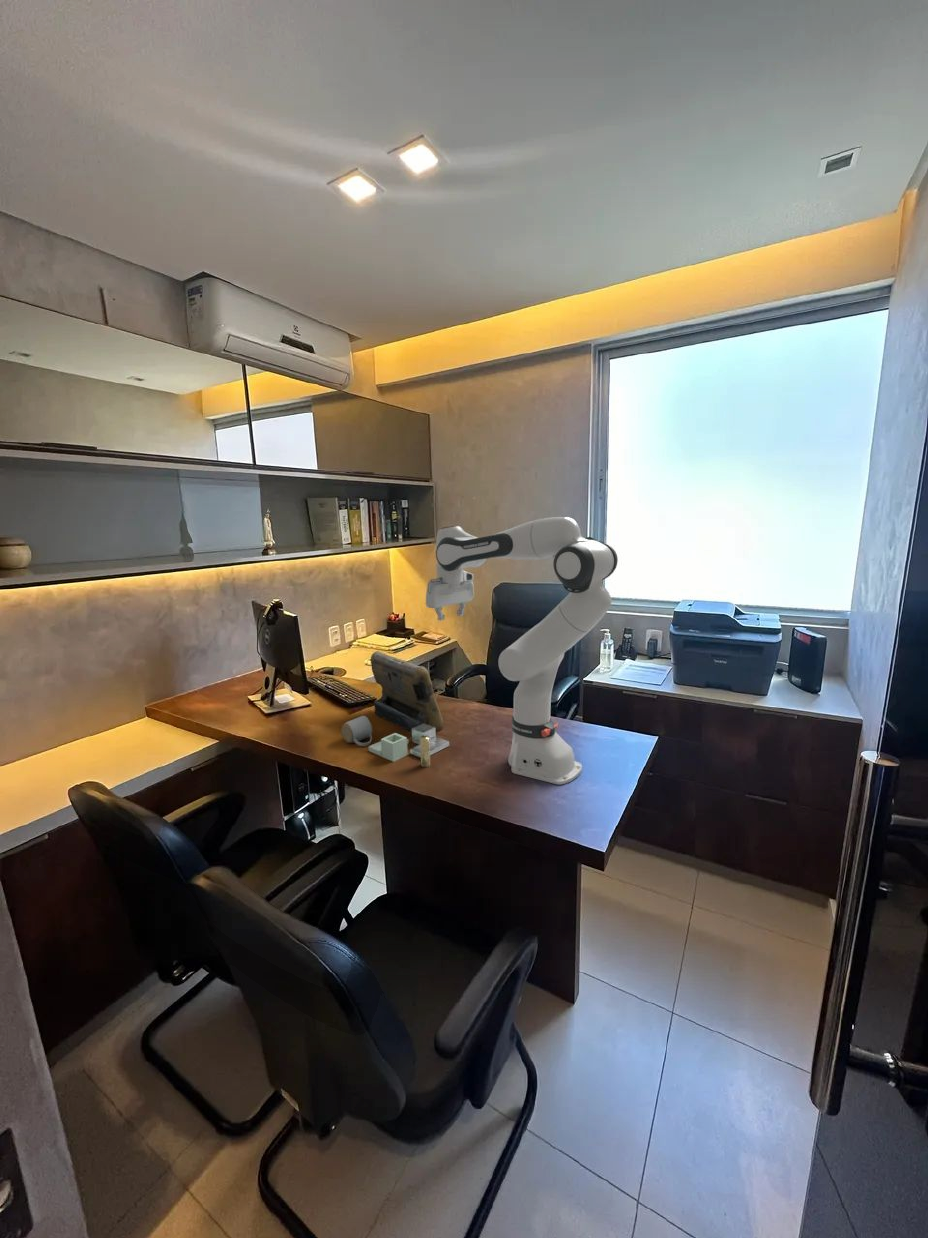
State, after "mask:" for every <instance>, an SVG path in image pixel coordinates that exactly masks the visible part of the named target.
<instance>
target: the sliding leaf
mask: <svg viewBox="0 0 928 1238" xmlns="http://www.w3.org/2000/svg"><path fill="white" fill-rule="evenodd" d="M436 733H437V732H436V731H435V727H433V726H430V725H429V724H424V723H423V724H421V725H419V726H416V727H414V728H412V733H411V741H412V743H414V744H417V745H416V746H414V747H412V748H410V750H409V751H410V755H413V756H416V757H417V758H419V759H421V747H420V737H421V736H429V739H430V756H432V755H434V754H437V753H438V752H440V751H441V750H444V749H446V748H448V747H450V741H449V740H445V739H444V738H441V737H438V736H436Z"/></svg>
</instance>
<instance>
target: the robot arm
mask: <svg viewBox="0 0 928 1238" xmlns="http://www.w3.org/2000/svg"><path fill="white" fill-rule="evenodd" d="M435 541H436V543H435V558H436V561H437V563H436V578H431V579H430V580H429V581H428V582H427V585H426V586H427V588H426V593H425V594H426V595H425V605H426V607H427V608H428V609H434V612H435V613H436V615H437V621H445V614H443V612H442V611H443V608H444V607H449V606H454V605H457V604H458V609H457V610H456V616H457V617H462V616H464V610H465V608H466V606H467V605H466V604H467V603H468V602H472V601H473V600H474V598H475V584H474V582H473V580H474V575H475V574H474V573H472V572H468V571H465V570H466V569H471V568H478V567H481V566H483V565H485V563H487V561H488V559H508V560H510V559H511V560H522V561H523V560H524V561H537V560H539V561H540V560H546V559H551V558H553V561H552V562H553V571H554V574H555V575H556V577H557V579H558V580H559V581H560V582H561V584H562V586H563V588H564V589H565V591H567V592H569V593H568V595H566V596H565V597H564V598H563V599H562V600H561V601H560V603H558V604H557V605H556V607H554V608H553V609H552V610H551V611H550V612H549V613H548V614H547V615H546V616H545V617H544V618H543V619H542V620H541V621H540V622H539V623H537V624H535V625H534V626H533V627H532V628H530V629H528V631H526V632H525V633H524V634H523V635H521V636H520V637H519V638H518V639H517V640H515V641H514V642H513V643H511V645H509V646H508V647H506V648H505V649H503V650H502V651H501V653H500V654H499V657H498V669H499V671H500V673H501V674H502V676H503V677H504V678H506V679H507V680H508V681H512V682H519V683H518V684H517V687H516V688H515V689H514V692H513V716H512V719H511V730H512V741H511V747H510V752H509V755H508V759H507V763H508V764H509V766H510V767H511V770H510V771H511V772H512V773H513V774H515V775H517V776H518V775H519V776H523V777H527V778H531V779H536V780H539V781H542V782H547V783H551V784H554V785H559V786H560V785H563V784H567V783H570V782H572V781H573V780H575V779H576V778H577V777H578V776H580V774H581V773H582V772H583V764H582V763H580V762H579V761H576V759H575V754H574V751H573V748H572V747H571V746H570V745H569V744H568V743H567V742H566V741H565V740H564V739H563V738H562V737H561V736H560V735H559V734H558V733H557V732H556V729H557V728H558V727H559V723H556V724H555V723H553V720H552V718H551V710H552V708H551V707H552V706H551V703H552V693H553V688H554V683H555V679H556V676H557V672H558V669H559V666H560V665H561V663H562V661H563V659H564V658H565V653H566V652H567V651H569V650H570V649H571V648H573V647H574V646H575V644H577V643H578V642H579V641H580V640H581V639H583V637H585V636H586V635H587V634H588V633H589V632H591V630H593V629H594V628H595V626H597V625H598V623H599V622H600V621H601V620H602V619H603V618H604V616H606V614H607V612H608V611H609V609H610V608H611V606H612V596H611V595H610V592H609V591H608V589H606V587H605V586H604V584H603V582H604V580H605V579H607V578H609V577H610V576H611V575H612V574H613V573H614V572H615V570H616V568H617V566H618V561H619V560H618V558H619V557H618V555H617V552H616V550H615V549H614V548H613V547H612V546H611V545H609V544H607V543H606V542H604V541H602V540H598V539H596V538H593V537H591V536H587V537H583V536H582V533H581V529H580V525H579V524H578V522H577V521H576V520H575V519H574V518H571V517H568V516H555V517H545V518H539V519H538V518H537V519H534V520H531V521H527V522H524V523H521V524H519V525H516V526H514V527H511V528H508V529H505V530H502V531H500V532H497V533H494V534H491V535H486V536H481V537H478V536H475V535H472V534H470V533H469V532H466V531H465V530H464V529H463V528H462V527H461V526H459V525H450V526H445V527H441V528H440V529H439V530H438V531H437V534H436V540H435ZM464 569H465V570H464Z"/></svg>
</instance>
